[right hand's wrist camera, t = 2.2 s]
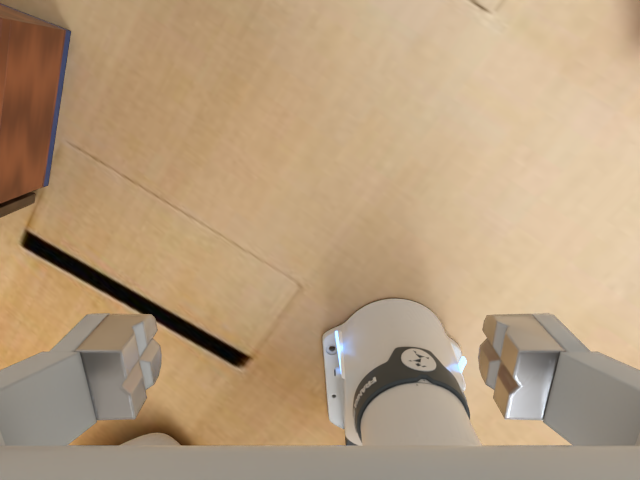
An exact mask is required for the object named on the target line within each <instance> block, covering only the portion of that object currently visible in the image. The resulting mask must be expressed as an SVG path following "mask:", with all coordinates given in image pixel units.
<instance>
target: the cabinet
mask: <svg viewBox="0 0 640 480" xmlns="http://www.w3.org/2000/svg"><path fill="white" fill-rule="evenodd" d="M70 34H71V31H69V30H67V29H64V28H62V27H59V26H57V25H54V24H52V23H49V22H47V21H44V20H41V19H39V18H36V17H34V16H31V15H29V14H26V13H24V12H21V11H19V10H16V9H13V8H11V7H8V6H6V5H3V4H1V3H0V204H1V203H3V202H6V201H8V200H11V199H13V198H16V197H18V196H21V195H24V194H26V193H29V192H31V191H34V190H36V189H39V188H42V187H45V186H48V182H49V176H50V169H51V162H52V155H53V149H54V142H55V135H56V128H57V122H58V115H59V108H60V101H61V95H62V88H63V81H64V74H65V68H66V61H67V54H68V47H69V41H70Z"/></svg>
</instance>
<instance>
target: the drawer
mask: <svg viewBox="0 0 640 480" xmlns="http://www.w3.org/2000/svg"><path fill="white" fill-rule="evenodd" d="M35 195H36V194H35V193H32V192H29V193H26V194H24V195H21V196H18V197H16V198H13V199H11V200H8V201H6V202H3V203H1V204H0V218H1V217H3V216H5V215H7V214H10V213H12V212H14V211H17V210H19V209H21V208H24V207H26V206H28V205H31V204H33V203H34V202H35Z"/></svg>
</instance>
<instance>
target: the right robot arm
mask: <svg viewBox="0 0 640 480" xmlns="http://www.w3.org/2000/svg"><path fill="white" fill-rule="evenodd" d="M482 330H483V332H484V334H485V335H486V337H487V339H486V340H485V341H484V342H483V343H482V344H481V345H480V348H479V356H478V359H479V369H480V372H481V376H482V378H483V380H484V382H485V384H486V385H487V386H489V387H491V388H492V389H494V396H493V399H494V400H495V402H496V404H497V406H498V408H499V409H500V411H501V413H502V415H503V417H504V418H505V419H517V420H543V422H544V423H545V424H546V425H548V426H549V427H550V428H551V429H553V430H554V431H555V432H557V433H558V434H559V435H560V436H562V437H563V438H564V439H566V440H567V441H568V442H569V443H571V444H572V445H493V446H482V444H481V442H480V440H479V438H478V436H477V434H476V432H475V430H474V428H473V426H472V424H471V422H470V412H469V408H468V405H467V400H466V397H465V395H464V392H463V391H464V390H465V389H466V384H465V381H464V378H463V375H462V370H463V368H464V366H465V364H466V363H467V361H466V359H465V357H462V358H461V356H462V352H461V349H460V347H459V345H458V344H457V343H456V342H455V341H453V340H452V339H451V338H450V337H448V336H447V334H446V333H445V331H444V328H443V326H442V324H441V322H440V320H439V319H438V318H437V316H436V315H435V314H434V313H433V312H432V311H431V310H429V309H428V308H427V307H425V306H423V305H421V304H419V303H417V302H414V301H410V300H406V299H385V300H380V301H376V302H373V303H371V304H368V305H366V306H364V307H362V308H361V309H359V310H358V311H357V312H355V313H354V314H353V315H352V316H351V317H350V318H349V319H348V320H347V321H346V322H345V323H343V324H342V325H340V326H337V327H335V328H332V329H330V330H328V331H327V332H325V333H324V334H323V337H322V343H323V356H324V368H325V380H326V393H327V405H328V415H329V420H330V422H332V423H333V424H335V425H336V426H338V427H340V428H342V429H345V439H346V446H165V445H68V444H69V443H71V442H72V441H73V440H75V439H76V438H77V437H78V436H80V435H81V434H82V433H84V432H85V431H86V430H87V429H89V428H90V427H91V426H93V425H94V424H95V423H96V422H97V420H122V419H135V418H136V417H137V415H138V413H139V411H140V409H141V408H142V406H143V404H144V402H145V400H146V399H147V396H146V389H148V388H149V387H151V386H152V385H154V384H155V382H156V380H157V378H158V376H159V372H160V368H161V348H160V345H159V344H158V343H157V342H156V341H155V340H154V339H153V337H154V335H155V334H156V332H157V325H156V320H155V318H154V317H153V316H152V314H109V313H103V314H88V315H86V316H85V317H84V318H83V319H82V320H81V321H80V322H79V323H78V324H77V325H76V326H75V327H74V328H73V329H72V330H71V331H70V332H69V333H68V334H67V335H66V336H65V337H64V338H63V339H62V340H61V341H60V342H59V343H58V344H57V345H56V346H54V347H53V348H52V349H51V350H50V351H49V352H41V353H38V354H36V355H34V356H32V357H29V358H27V359H25V360H23V361H20V362H18V363H16V364H13V365H11V366H9V367H7V368H4V369H2V370H0V480H640V370H638V369H636V368H633V367H631V366H629V365H626V364H624V363H622V362H620V361H617V360H615V359H613V358H611V357H608V356H606V355H604V354H602V353H599V352H591V351H590V350H589V349H588V348H587V347H586V346H585V345H584V344H583V343H582V342H581V341H579V340H578V339H577V338H576V337H575V336H574V335H573V334H572V333H571V332H570V331H569V330H568V329H567V328H566V327H565V326H564V325H563V324H562V323H561V322H560V321H559V320H558V319H557V318H556V317H555V316H554V315H552V314H549V313H542V314H508V315H487V316H486V318H485V320H484V324H483V329H482ZM330 346H334V348H330ZM460 358H461V360H460ZM459 360H460V362H459ZM458 362H459V363H458Z"/></svg>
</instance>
